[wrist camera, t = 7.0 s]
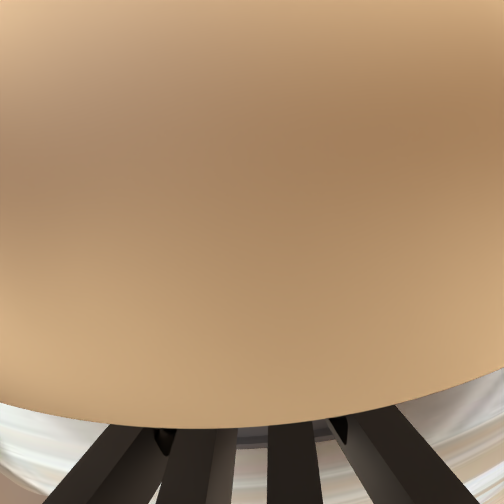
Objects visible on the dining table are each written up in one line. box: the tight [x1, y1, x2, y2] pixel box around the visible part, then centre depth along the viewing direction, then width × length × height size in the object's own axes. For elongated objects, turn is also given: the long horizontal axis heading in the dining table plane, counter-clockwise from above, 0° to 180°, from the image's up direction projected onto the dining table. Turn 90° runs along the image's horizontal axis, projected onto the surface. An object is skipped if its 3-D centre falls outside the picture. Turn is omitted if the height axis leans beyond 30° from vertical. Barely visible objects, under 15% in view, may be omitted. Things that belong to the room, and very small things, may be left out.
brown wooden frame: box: [0, 0, 504, 429], centre depth 11 cm, size 9×16×18 cm, turn 99°
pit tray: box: [236, 419, 335, 449], centre depth 25 cm, size 7×12×2 cm, turn 99°
